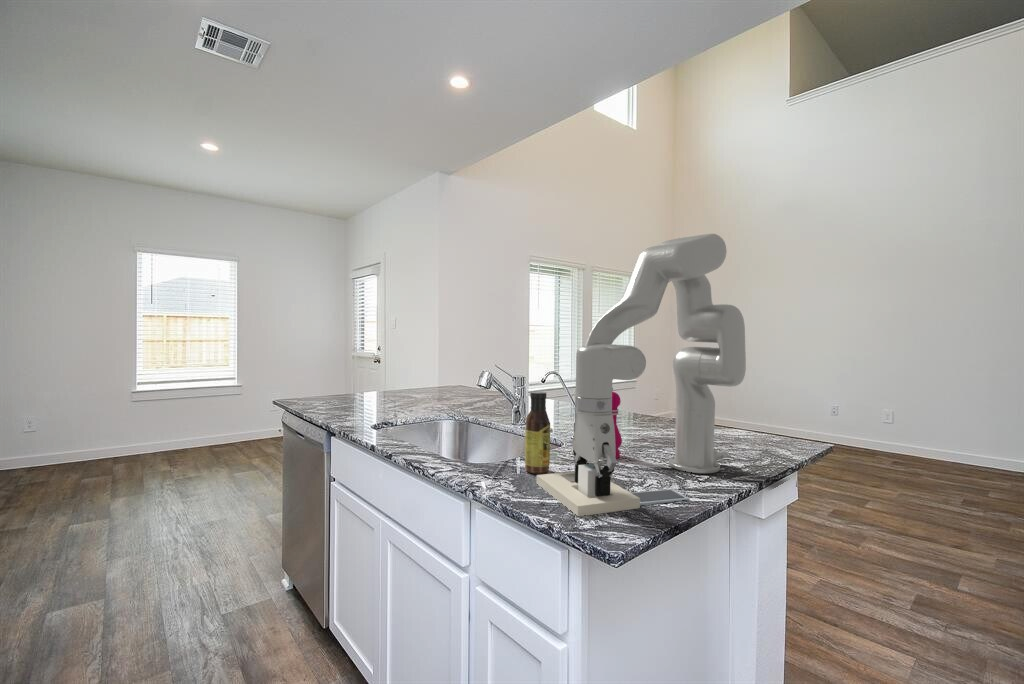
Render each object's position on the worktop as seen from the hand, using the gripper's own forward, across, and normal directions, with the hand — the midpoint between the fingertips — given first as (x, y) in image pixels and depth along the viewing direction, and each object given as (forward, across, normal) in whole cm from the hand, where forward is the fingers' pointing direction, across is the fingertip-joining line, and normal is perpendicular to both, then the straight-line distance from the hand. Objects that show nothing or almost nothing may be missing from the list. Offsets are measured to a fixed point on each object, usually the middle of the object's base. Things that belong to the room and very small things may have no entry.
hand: (591, 488), depth 98 cm
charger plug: (+3, 0, 0) cm, 3 cm away
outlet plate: (+2, +3, 0) cm, 4 cm away
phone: (+3, -3, -14) cm, 15 cm away
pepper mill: (+3, +29, -22) cm, 36 cm away
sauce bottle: (+3, +22, +3) cm, 22 cm away
